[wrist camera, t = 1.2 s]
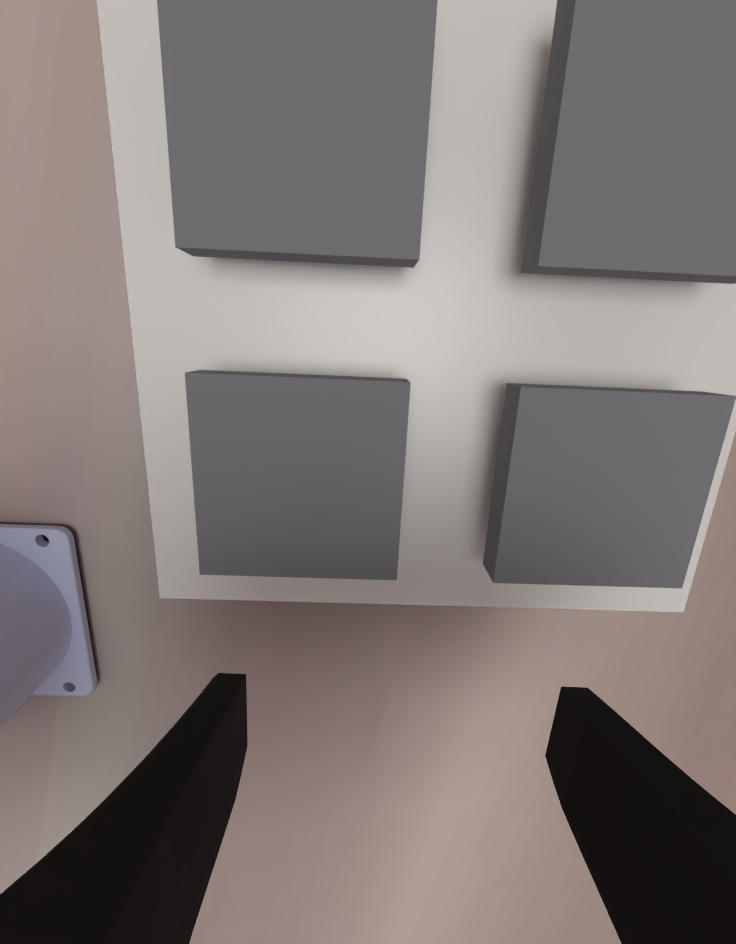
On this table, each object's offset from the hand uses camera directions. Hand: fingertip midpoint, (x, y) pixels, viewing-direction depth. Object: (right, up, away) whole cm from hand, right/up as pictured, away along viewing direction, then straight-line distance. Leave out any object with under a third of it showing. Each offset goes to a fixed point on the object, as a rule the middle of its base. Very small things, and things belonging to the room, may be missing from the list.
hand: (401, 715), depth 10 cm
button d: (+7, +14, +3) cm, 16 cm away
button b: (+6, +6, +6) cm, 10 cm away
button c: (-2, +15, +3) cm, 15 cm away
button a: (-3, +6, +6) cm, 9 cm away
